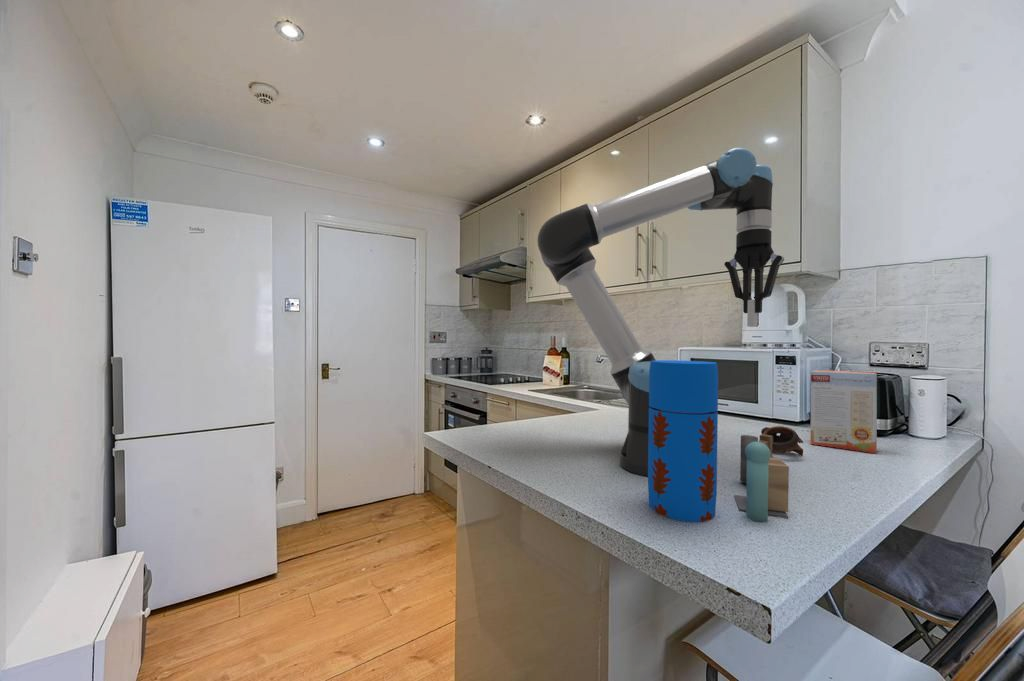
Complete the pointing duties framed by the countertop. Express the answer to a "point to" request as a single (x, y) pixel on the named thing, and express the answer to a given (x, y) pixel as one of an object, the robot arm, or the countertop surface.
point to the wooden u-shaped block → (769, 477)
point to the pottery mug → (784, 439)
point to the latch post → (757, 481)
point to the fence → (767, 441)
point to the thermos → (683, 439)
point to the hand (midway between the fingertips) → (752, 326)
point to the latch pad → (742, 506)
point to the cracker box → (844, 410)
